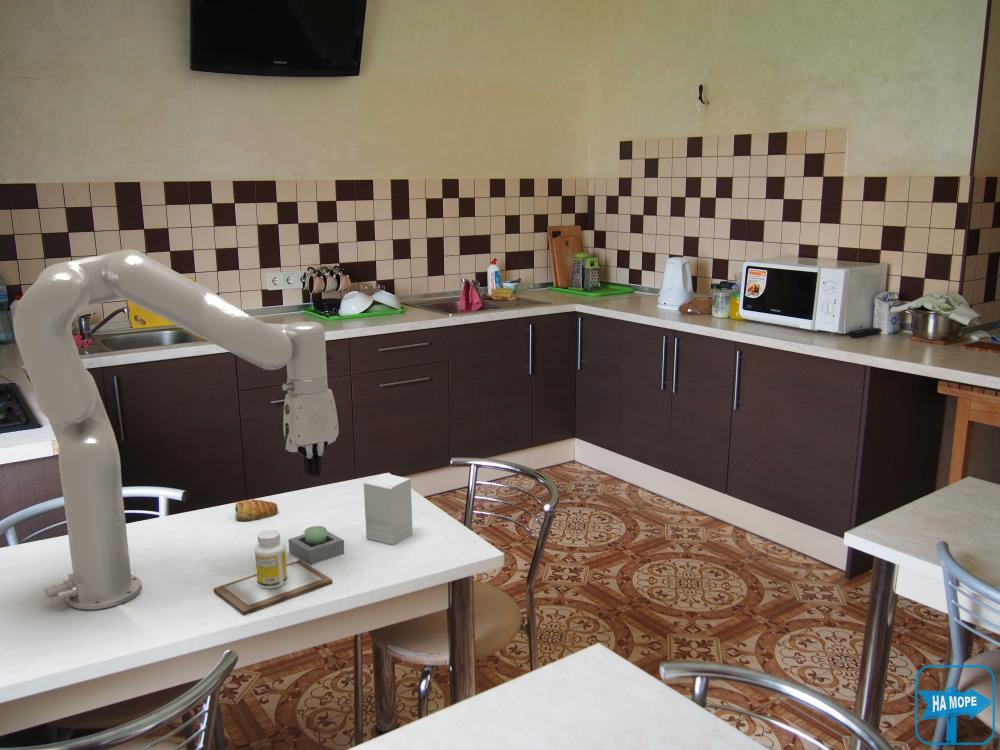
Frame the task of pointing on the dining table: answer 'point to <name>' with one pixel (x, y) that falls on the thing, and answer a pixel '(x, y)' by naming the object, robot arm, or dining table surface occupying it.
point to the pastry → (254, 509)
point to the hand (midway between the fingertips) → (313, 474)
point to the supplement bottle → (270, 560)
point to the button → (315, 534)
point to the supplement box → (388, 508)
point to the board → (253, 597)
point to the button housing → (316, 548)
